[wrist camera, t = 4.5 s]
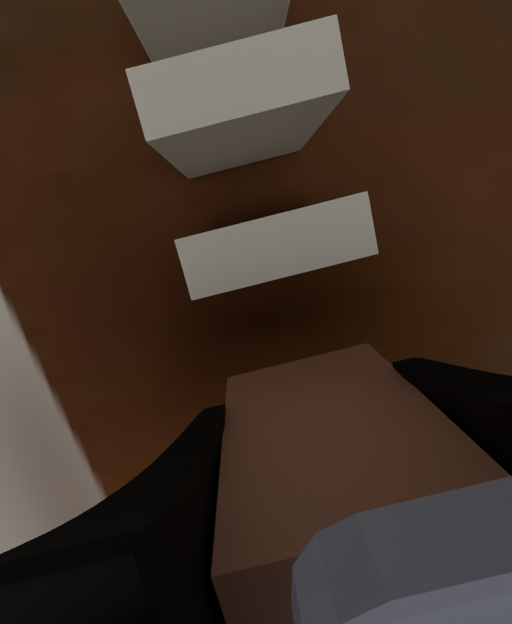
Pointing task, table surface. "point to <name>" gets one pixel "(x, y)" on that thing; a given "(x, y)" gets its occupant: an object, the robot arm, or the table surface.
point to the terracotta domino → (321, 466)
